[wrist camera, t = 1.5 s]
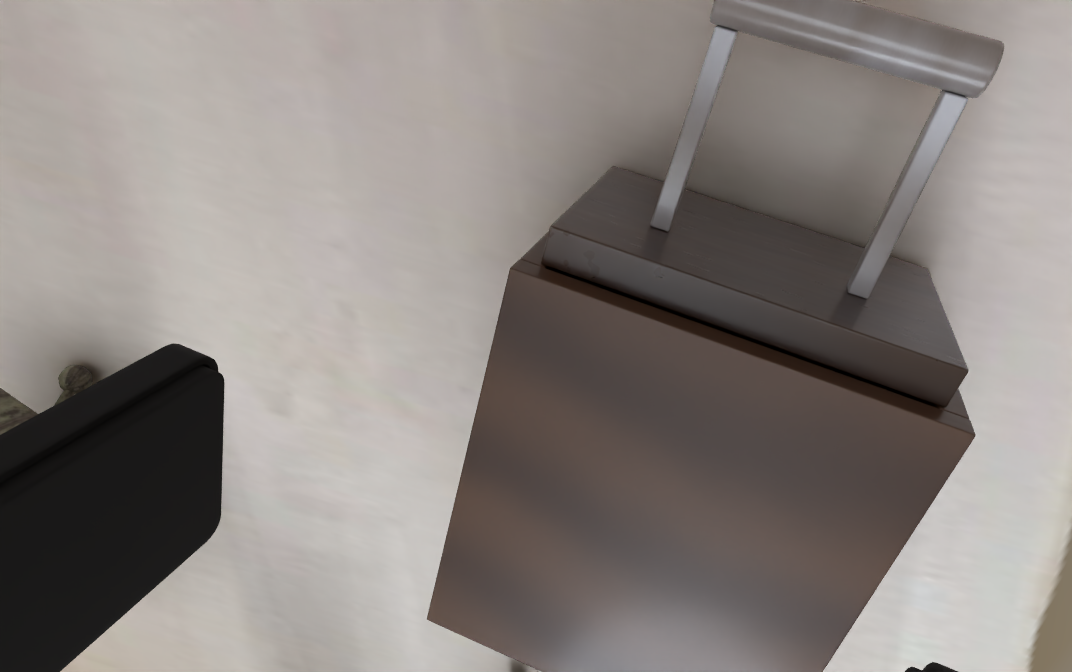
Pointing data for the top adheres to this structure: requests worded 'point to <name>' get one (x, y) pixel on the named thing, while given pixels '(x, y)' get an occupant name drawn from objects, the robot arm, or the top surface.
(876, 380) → the drawer
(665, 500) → the cabinet
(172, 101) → the top surface
